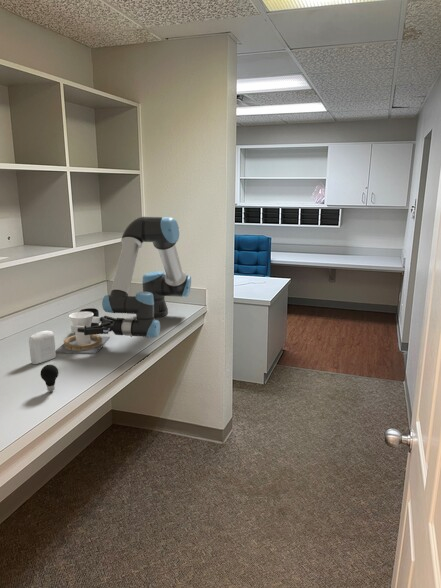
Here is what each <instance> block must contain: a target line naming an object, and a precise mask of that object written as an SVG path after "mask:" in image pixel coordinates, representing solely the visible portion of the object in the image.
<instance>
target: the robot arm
mask: <svg viewBox="0 0 441 588" xmlns="http://www.w3.org/2000/svg"><path fill="white" fill-rule="evenodd" d="M179 229H180V227H179V224H178V222H177V220H176V219H175V218H173V217H169V216H140V217H137V218H135V219H133V221H131V222H130V223H129V224H128V225H127V227H126V228H125V230H124V232H123V233H122V237H121V240H120V243H121V249H120V254H119V258H118V261H117V266H116V270H115V275H114V278H113V281H112V286H111V290H110V294H106V295H104V297H103V298H102V302H101V307H102V309H103V311H104V312H106V313H111V314H128V315H129V314H131V315H135V316H136V318H127V317H126V318H125V317H113V316H109V315H103V316H101V317H100V316H99V317H93V319H92V323H99V326H92V327H86V326H73V325H70V329H71V333H75V332H78V333H84V335H94V334H96V335H108V334H109V333H110V332H112V333H113V334H114V335H115V336H127V337H128V336H129V337H130V338H132V337H141V338H157V337H158V336H159V335H160V332H161V322H160V321H159V320H158V319H155V318H160V317H164V316H167V315H168V314H169V307H168V304H167V302H166V300H165V298H166V297H177V298H186V297H189V295H190V292H191V286H192V276H191V275H189V274H188V275H187V273H186V271H185V270H183V269H182V266H181V265H182V264H181V261H180V258H179V257H180V256H179V254H178V250H177V245H176V244H177V242H178V241H179V240H180V230H179ZM143 243H152V244H153V247H154V248H155V249H156V250H158V252H159V257H160V260H161V262H162V266H163V269H164V271H163V270H161V271H160V270H158V271H151V272H146V273H144V274H143V276H142V282H141V284H142V291H138V292H136V293H135V296H131V295H130V296H129V292H130V287H131V284H132V280H133V274H134V270H135V266H136V262H137V257H138V254H139V249H140V248H142V245H143Z"/></svg>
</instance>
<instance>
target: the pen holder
mask: <svg viewBox="0 0 441 588" xmlns="http://www.w3.org/2000/svg"><path fill="white" fill-rule="evenodd" d="M78 312H92V313H93V314H94V315H93V317H100V316H99V315H100V314H99V310H98V309H97V308H95V307H93V308H92V307H91V308H83V309H80V310H79V311H78ZM99 325H100V323H91V327H92V326H99Z"/></svg>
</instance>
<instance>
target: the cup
mask: <svg viewBox="0 0 441 588" xmlns="http://www.w3.org/2000/svg"><path fill="white" fill-rule="evenodd" d="M93 315H94V314H93V313H92V312H79V311H78V312H73V313H70V314H69V315H68V318H69V319H70V322H71V324H72V325H71V326H86V327H91V323H92V319H93ZM74 335H76V345H84V344H90V343H91V340H90V335H84V333H78V332H74Z"/></svg>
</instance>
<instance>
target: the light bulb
mask: <svg viewBox="0 0 441 588" xmlns="http://www.w3.org/2000/svg"><path fill="white" fill-rule="evenodd" d="M59 374H60V373H59V369H58V368H57V366H56V365H55V364H46V365H44V366H43V367H42V368H41V369H40V377H41V379H42V380H43V381H44V382H45V385H46V388H47V389H46V390H47V391H48V392H50V393H53V391H55V388H56V381H57V379H58V376H59Z"/></svg>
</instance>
